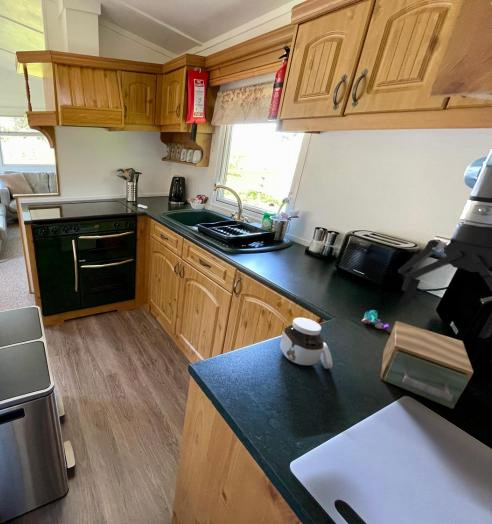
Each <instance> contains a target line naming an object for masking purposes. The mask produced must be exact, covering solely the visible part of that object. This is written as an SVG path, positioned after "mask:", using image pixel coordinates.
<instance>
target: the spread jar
mask: <svg viewBox="0 0 492 524" xmlns="http://www.w3.org/2000/svg"><path fill="white" fill-rule="evenodd" d="M321 331H322V326H321V324H319V323H318V322H316V321H315V320H313V319H310V318H307V317H295V318H293V321H292V324H290V325H287V326H286V327H285V328H284V329H283V331H282V335H281V337H280V342H279V343H280V344H279V347H280V351H281V354H282V356H283V358H284V359H285V360H286V361H287V362H288V363H290V364H292V365H294V366H297V367H300V368H307V367H312V366H314V365H315V366H316V365H317V364H318V363H319V361H320V363H321V365H322V366H323V368H324V369H325V370H326V369H333V366H334V365H333V358H332V354H331V350H330V348H329V346H328V345H327V343H326V342H324V339H323V337H322V335H321Z"/></svg>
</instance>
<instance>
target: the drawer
mask: <svg viewBox="0 0 492 524" xmlns="http://www.w3.org/2000/svg"><path fill="white" fill-rule="evenodd" d="M468 379H469V377H468V375H465V374H462V373H461V371H458V370H455V369H452V368H449V367H446V366H443V365H441V364H438V363H435V362H432V361H429V360H426V359H423V358H421V357H418V356H415V355H412V354H409V353H406V352H403V351H401V350H398V351H396V354H395V356H394V358H393V360H392V363H391V365H390V367H389V370H388V372H387V374H386V376H385V380H383V382H386V383H389V384H391V385H393V386H396V387H398V388H401V389H403V390H406V391H408V392H411V393H413V394H415V395H418V396H421V397H422V398H425V399H428V400H430V401H433V402H435V403H437V404H440V405H443V406H445V407H448V408H450V409H452V408H453V406H454V404H455V402H456V401H457V399H458V397H459V395H460V393H461V392H462V390H463V388H464V386H465V385H466V383H467V381H468ZM468 382H469V381H468ZM467 384H468V383H467ZM466 386H467V385H466ZM464 389H465V388H464ZM463 391H464V390H463ZM462 393H463V392H462ZM460 396H461V395H460ZM459 398H460V397H459ZM458 400H459V399H458ZM457 402H458V401H457ZM457 402H456V403H457ZM455 405H456V404H455ZM454 407H455V406H454ZM453 409H454V408H453Z"/></svg>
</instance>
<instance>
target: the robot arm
mask: <svg viewBox="0 0 492 524" xmlns="http://www.w3.org/2000/svg"><path fill="white" fill-rule="evenodd" d="M463 181H464V182H463V183H464V184H465V185H466V186H467V187H468V188H470V189H472V190H471V193H470V196H469V198H468V199H467V203H466V205H465V206H464V209H463V211H462V214H461V216H460V220H461V221H462V222H461V221H460V222H458V223H457V224H456V227H455V229H454V231H453V233H452V235H451V237H450V241H449V242H448V243H446V242H444V241H443V242H442V240H440V239H430V240H428V242H427V244H426V245H425V247H424V248H423V249H421V251H420V252H418V253H417V254H416V255H414V256H413V257H412V258H411V259H409V260H408V261H406V262H405V264H403V265H402V266H401V267H400V268H398V269H397V273H398V274H400V275H403V276H404V281H403V283H402V286H401V291H403V292H404V294H403V296H402V298H401V300H400V304H399V306H401V307H407V306H410V305H411V304H412V301H413V299H414V296H415V293H416V292H417V289H418V287H419V285H420V282H421V279H418V278H419V277H422V276H424V275H426V274H429V273H431V272H433V271H436V270H438V269H440V268H442V267H445V266H447V265H448V266H449V265H451V266H452V267H453V268H455V269H463V270H465V271H467V272H471V273H479V275H480V277H481V278H483V279H484V281H485V283H486V285H487V287H488V288H489V290H490V291H491V293H492V149H490V152H489V153H488V155H487V156H483V157H480V158H478V159H476V160H474V161H472V162H471V163H470V164H469V165H468V166H467V167H466V169H465V171H464V174H463ZM441 250H443V251H444V254H445V256H444V257H442V258H439V259H437V260H436V261H434V262H432V263H429V264H427V265H425V266H422V267H419V268H417V269H415V268H416V267H417V266H419V265H420V264H421V263H423V262H424V261H425V260H426V259H428V258H429V257H431V256H432V255H433V254H435V253H436V252H439V251H441ZM414 269H415V270H414ZM491 335H492V311H491V312H490V314H489V316H488V318H487V319H486V321H485V324H484V325H483V327H482V329H481V331H480V333H478V338H481V339H483V340H484V339H487V338H489V337H491Z"/></svg>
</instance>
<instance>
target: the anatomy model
mask: <svg viewBox="0 0 492 524" xmlns="http://www.w3.org/2000/svg"><path fill="white" fill-rule="evenodd" d="M377 312H378V311H377V310H375V309H372V310H371V309H370V310H369V311H366V312H365V313H364V318H363V319H361V322H362V323H364V324H368V325H370V323H373V324H374V327H375V328H376V329H379V330H381V329H382V330H387V329H388V328H389V327H390V326H389V323H385V324H384V323H382V319H378V318H379V316H378V313H377Z"/></svg>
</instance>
